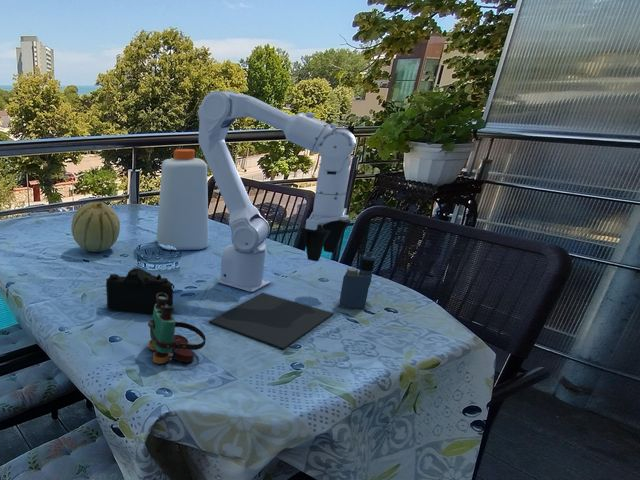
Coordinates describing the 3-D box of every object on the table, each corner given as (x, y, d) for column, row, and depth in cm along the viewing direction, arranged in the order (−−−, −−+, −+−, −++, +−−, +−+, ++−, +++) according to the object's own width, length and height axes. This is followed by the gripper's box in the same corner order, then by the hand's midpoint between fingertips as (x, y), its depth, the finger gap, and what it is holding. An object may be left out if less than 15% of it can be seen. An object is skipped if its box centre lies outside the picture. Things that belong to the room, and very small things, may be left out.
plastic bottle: (210, 250, 137) (215, 151, 126) (159, 252, 137) (160, 153, 126) (202, 236, 151) (206, 146, 140) (155, 238, 151) (155, 148, 140)
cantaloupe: (92, 241, 150) (90, 194, 144) (130, 247, 142) (129, 198, 136) (62, 253, 139) (58, 203, 133) (101, 261, 131) (98, 208, 125)
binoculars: (216, 311, 75) (155, 310, 74) (206, 368, 79) (148, 367, 78) (201, 290, 83) (146, 289, 82) (193, 342, 87) (141, 341, 86)
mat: (209, 322, 93) (209, 320, 93) (262, 294, 105) (262, 292, 105) (283, 350, 82) (283, 348, 82) (333, 314, 95) (333, 313, 94)
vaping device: (367, 309, 96) (378, 253, 92) (340, 307, 98) (350, 253, 93) (364, 304, 99) (374, 249, 94) (337, 302, 100) (346, 249, 95)
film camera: (179, 300, 104) (180, 261, 101) (170, 318, 96) (171, 277, 92) (115, 293, 109) (114, 257, 105) (101, 310, 100) (99, 271, 97)
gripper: (334, 200, 87) (324, 268, 93) (365, 189, 96) (354, 251, 102) (299, 196, 92) (291, 260, 98) (331, 185, 101) (322, 245, 107)
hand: (321, 255), depth 100 cm, fingers open, 7 cm apart
